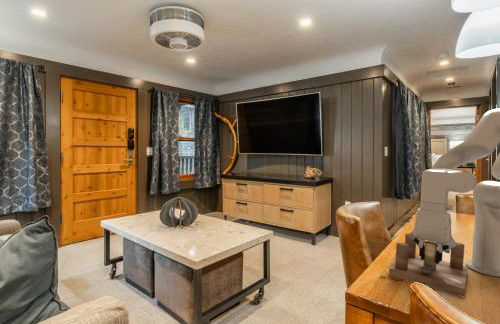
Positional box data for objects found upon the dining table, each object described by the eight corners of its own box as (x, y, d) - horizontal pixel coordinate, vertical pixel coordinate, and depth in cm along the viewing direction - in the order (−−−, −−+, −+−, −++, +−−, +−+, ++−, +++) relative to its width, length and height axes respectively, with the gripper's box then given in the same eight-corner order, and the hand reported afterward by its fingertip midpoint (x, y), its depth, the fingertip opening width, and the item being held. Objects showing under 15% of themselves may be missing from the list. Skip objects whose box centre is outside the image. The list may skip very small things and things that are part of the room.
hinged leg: (431, 276, 88) (433, 250, 87) (418, 272, 90) (420, 247, 89) (436, 266, 95) (438, 242, 95) (424, 263, 97) (425, 240, 97)
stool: (402, 258, 109) (403, 231, 109) (467, 273, 97) (469, 243, 96) (388, 275, 94) (390, 244, 93) (464, 297, 81) (466, 261, 81)
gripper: (466, 209, 91) (462, 265, 92) (408, 201, 102) (405, 251, 103) (463, 213, 85) (459, 272, 86) (402, 204, 97) (399, 257, 98)
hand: (430, 260), depth 95 cm, fingers closed on hinged leg, 3 cm apart
